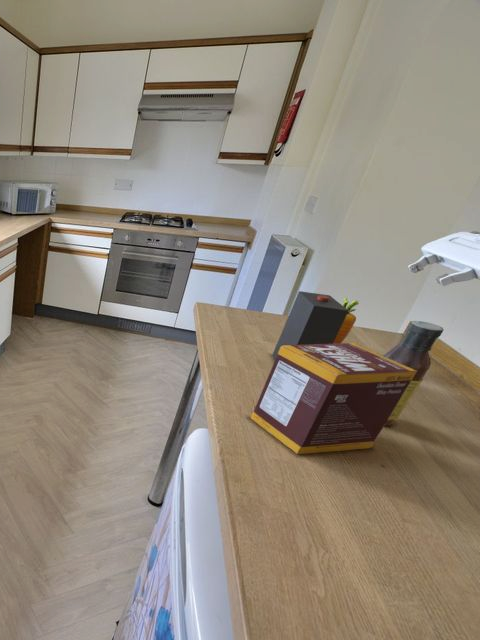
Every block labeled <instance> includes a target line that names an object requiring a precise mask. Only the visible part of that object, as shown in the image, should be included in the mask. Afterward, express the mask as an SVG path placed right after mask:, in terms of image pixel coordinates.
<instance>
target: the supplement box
mask: <svg viewBox="0 0 480 640" xmlns="http://www.w3.org/2000/svg"><path fill="white" fill-rule="evenodd" d="M416 372H417V371H416V370H414V369H412V368H409V367H407V366H405V365H402V364H400V363H398V362H395V361H393V360H391V359H389V358H386V357H384V355H382V354H379V353H377V352H375V351H373V350H371V349H368V348H365V347H364V346H361V345H359V344H357V343H355V342H344V343H343V342H342V343H340V344H309V345H283V346H281V347H280V350H279V352H278V354H277V357H276V359H274V362H273V364H272V367H271V369H270V371H269V374H268V376H267V379H266V381H265V383H264V386H263V388H262V391H261V393H260V396H259V398H258V399H257V402H256V405H255V406H254V410H253V412H252V414H251V417H250V419H251V420H252V421H253V422H255V423H256V424H257V425H259V426H260V427H261V428H262V429H264V430H265V431H266V432H268V433H269V434H270V435H272V436H273V437H274V438H275V439H277V440H278V441H279V442H281V443H282V444H284V446H286V447H288V448H289V449H290V450H291V451H293V452H294V453H295V454H297V455H306V454H317V453H329V452H330V453H331V452H340V451H341V452H342V451H353V450H365V449H366V450H367V449H371V448H372V447H373V445H374V443H375V441H376V440H377V439H378V437H379V435H380V433H381V431H382V430H383V428H384V427H385V426H386V425H385V423H386V421H387V420H388V418H389V416H390V415H391V413H392V411H393V410H394V408H395V406H396V405H397V403H398V402H399V400H400V398H401V397H402V395H403V393H404V392H405V390H406V388H407V387H408V385H409V383H410V382H411V380H412V379H413V377H414V375H415V373H416Z"/></svg>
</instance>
